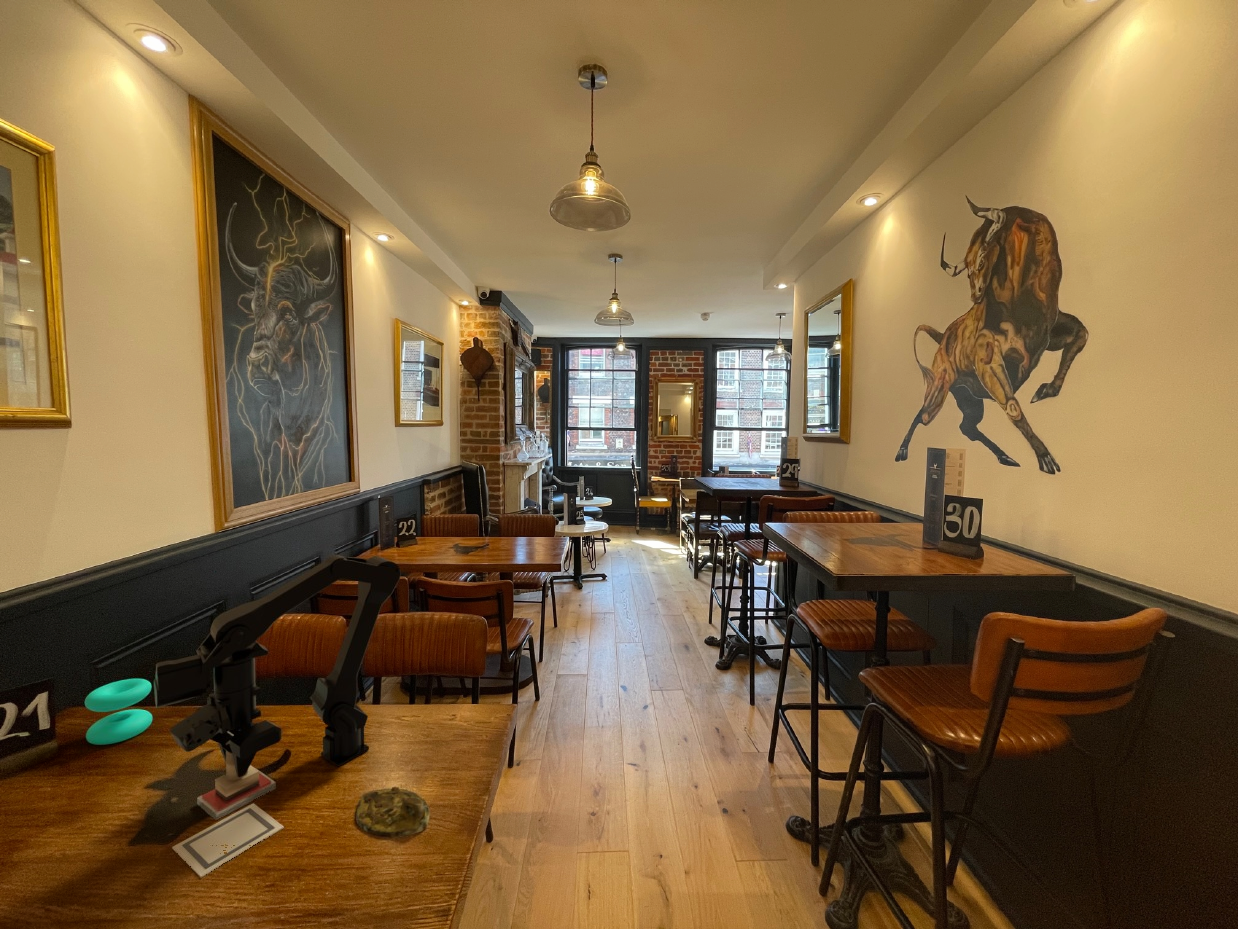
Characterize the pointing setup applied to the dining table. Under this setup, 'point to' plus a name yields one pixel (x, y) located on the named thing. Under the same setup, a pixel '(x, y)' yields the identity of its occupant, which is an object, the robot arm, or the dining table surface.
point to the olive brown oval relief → (392, 812)
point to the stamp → (235, 779)
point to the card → (226, 839)
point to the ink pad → (234, 798)
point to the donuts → (121, 722)
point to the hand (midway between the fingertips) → (237, 772)
